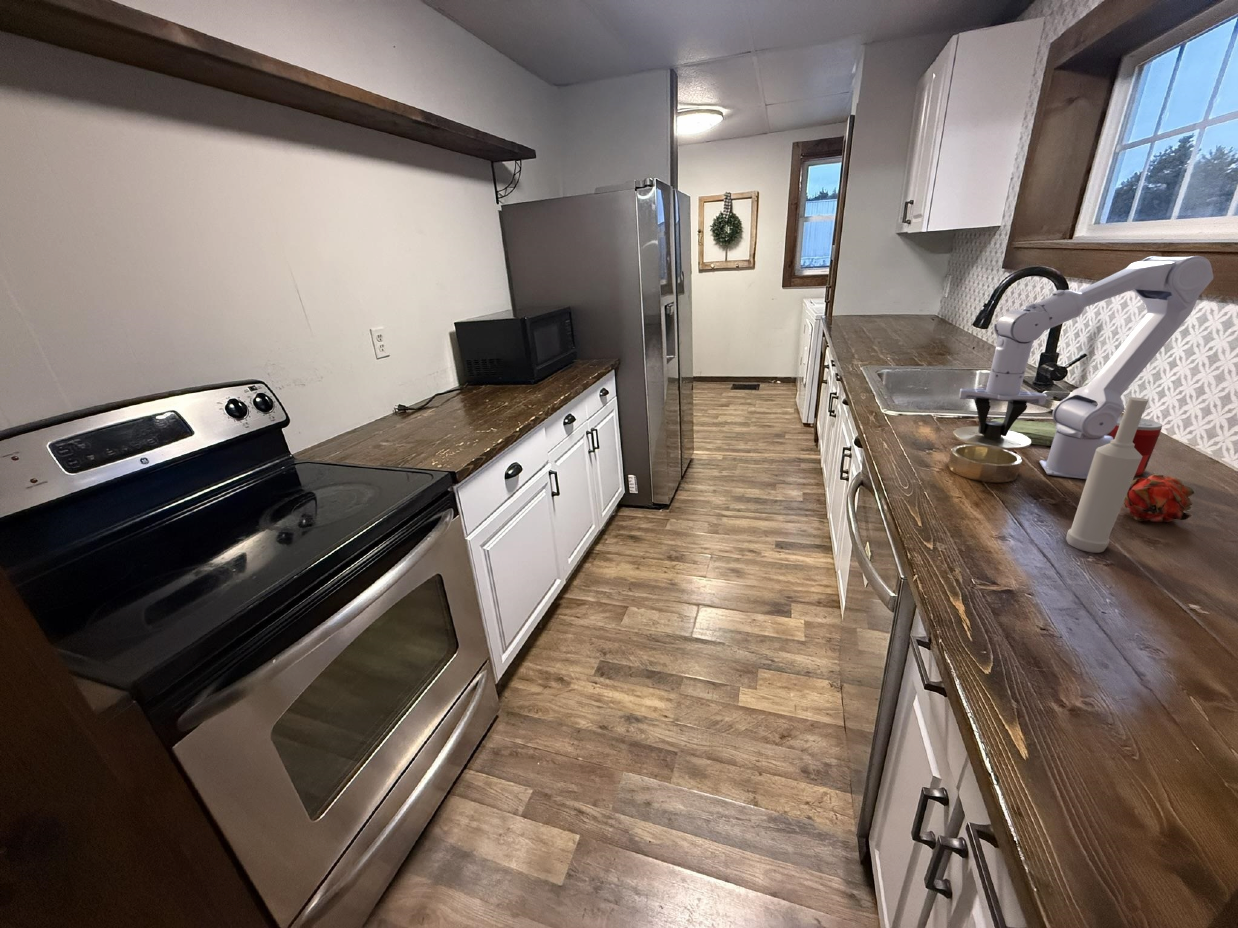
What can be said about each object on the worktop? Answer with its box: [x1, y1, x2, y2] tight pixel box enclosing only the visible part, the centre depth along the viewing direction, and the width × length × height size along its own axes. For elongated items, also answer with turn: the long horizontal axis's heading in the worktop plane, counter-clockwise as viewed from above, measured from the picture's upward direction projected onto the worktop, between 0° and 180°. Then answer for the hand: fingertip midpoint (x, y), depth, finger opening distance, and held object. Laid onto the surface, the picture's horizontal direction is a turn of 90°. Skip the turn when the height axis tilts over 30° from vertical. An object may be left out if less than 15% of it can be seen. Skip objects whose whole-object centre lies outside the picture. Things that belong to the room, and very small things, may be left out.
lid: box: [952, 420, 1032, 451], centre depth 107 cm, size 14×14×4 cm
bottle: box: [1065, 396, 1149, 554], centre depth 78 cm, size 5×5×25 cm
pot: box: [948, 444, 1023, 484], centre depth 110 cm, size 13×13×4 cm
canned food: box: [1107, 416, 1163, 477], centre depth 106 cm, size 8×8×11 cm
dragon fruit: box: [1124, 473, 1195, 523], centre depth 88 cm, size 8×8×12 cm
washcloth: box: [990, 418, 1057, 447], centre depth 128 cm, size 13×18×3 cm
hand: (991, 433), depth 107 cm, fingers closed on lid, 3 cm apart
